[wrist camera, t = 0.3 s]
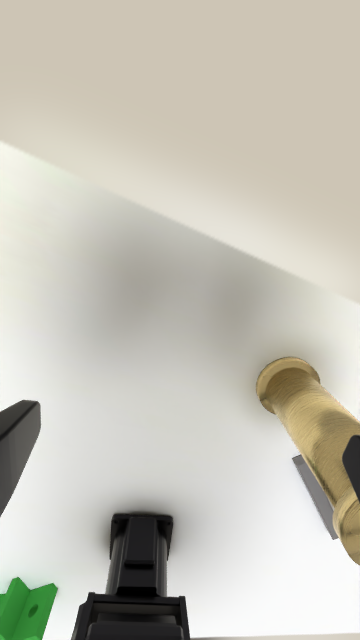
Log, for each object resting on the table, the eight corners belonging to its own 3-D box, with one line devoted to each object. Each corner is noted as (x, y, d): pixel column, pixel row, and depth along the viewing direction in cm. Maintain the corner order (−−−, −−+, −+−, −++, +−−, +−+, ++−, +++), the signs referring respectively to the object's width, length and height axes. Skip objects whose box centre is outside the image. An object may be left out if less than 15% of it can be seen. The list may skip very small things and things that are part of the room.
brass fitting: (307, 412, 26) (435, 572, 14) (250, 408, 26) (330, 570, 13) (322, 360, 24) (484, 487, 12) (262, 354, 24) (367, 481, 11)
